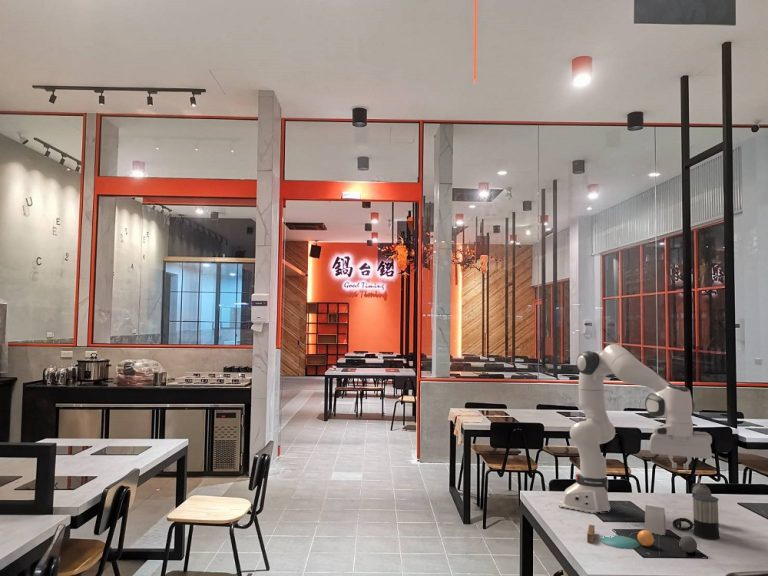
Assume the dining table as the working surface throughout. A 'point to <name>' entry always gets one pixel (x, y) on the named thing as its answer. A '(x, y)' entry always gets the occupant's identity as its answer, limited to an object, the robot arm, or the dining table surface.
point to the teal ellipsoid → (620, 542)
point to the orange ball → (645, 538)
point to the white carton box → (655, 520)
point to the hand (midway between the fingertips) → (680, 468)
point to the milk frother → (702, 517)
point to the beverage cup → (701, 489)
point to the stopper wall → (590, 533)
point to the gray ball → (688, 544)
